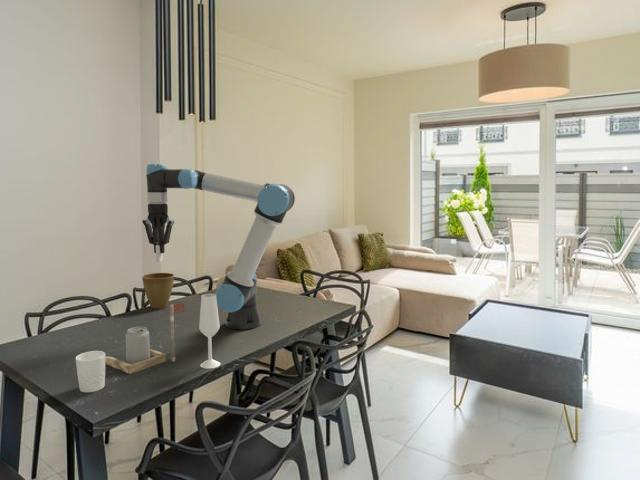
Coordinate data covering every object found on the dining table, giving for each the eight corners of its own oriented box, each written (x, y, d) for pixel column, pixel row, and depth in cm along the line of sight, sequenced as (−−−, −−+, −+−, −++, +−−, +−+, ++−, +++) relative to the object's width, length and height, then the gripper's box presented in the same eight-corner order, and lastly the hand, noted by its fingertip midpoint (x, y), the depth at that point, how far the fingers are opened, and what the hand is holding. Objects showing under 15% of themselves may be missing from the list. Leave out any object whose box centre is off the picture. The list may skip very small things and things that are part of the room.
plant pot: (156, 313, 212) (155, 279, 210) (136, 308, 219) (135, 276, 217) (181, 305, 224) (180, 274, 222) (162, 301, 232) (160, 271, 230)
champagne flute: (222, 360, 155) (220, 293, 152) (218, 368, 149) (216, 298, 146) (202, 360, 155) (200, 293, 152) (198, 368, 148) (196, 298, 145)
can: (143, 368, 149) (141, 333, 147) (122, 366, 150) (120, 331, 148) (154, 359, 156) (153, 326, 154) (134, 358, 157) (132, 324, 155)
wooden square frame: (186, 357, 158) (184, 302, 155) (125, 380, 139) (122, 317, 137) (147, 343, 171) (145, 292, 168) (87, 363, 152) (84, 305, 150)
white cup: (98, 379, 139) (96, 348, 138) (112, 386, 135) (110, 354, 134) (72, 389, 133) (70, 356, 132) (86, 396, 129) (84, 362, 127)
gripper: (177, 202, 182) (179, 260, 185) (147, 202, 184) (150, 259, 187) (167, 203, 175) (169, 263, 178) (137, 203, 177) (139, 262, 180)
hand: (159, 261), depth 182 cm, fingers closed
